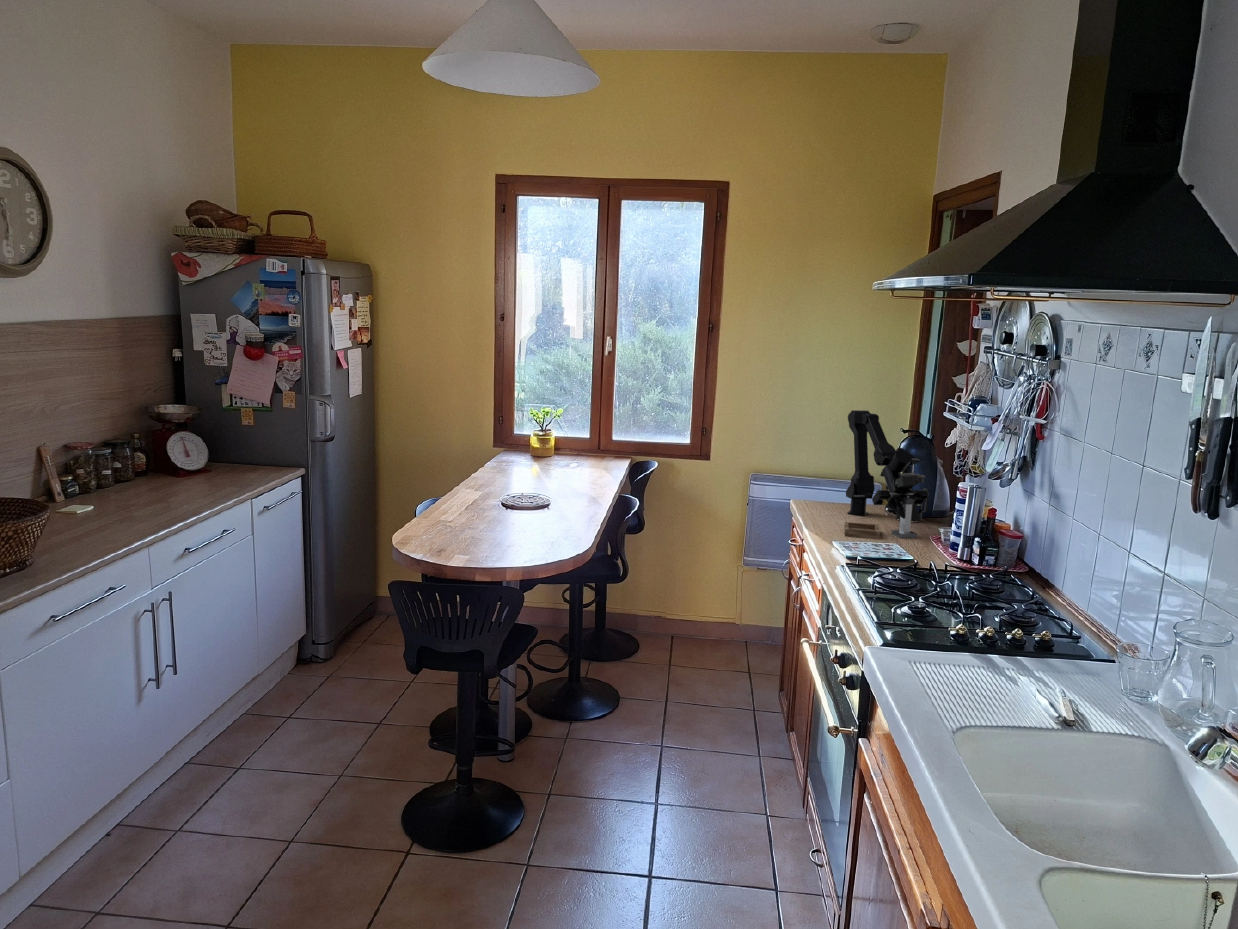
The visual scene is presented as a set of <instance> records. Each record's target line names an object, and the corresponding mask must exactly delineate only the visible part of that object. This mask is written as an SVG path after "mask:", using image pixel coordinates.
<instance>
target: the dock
mask: <svg viewBox="0 0 1238 929" xmlns="http://www.w3.org/2000/svg"><path fill="white" fill-rule="evenodd" d="M843 527H844V528H843V530H844V532H843V533H844V537H849V538H850V537H853V538H854V537H855V538H862V539H863V538H866V539H874V540H875V539H876V540H877V539H878V540H880V537H881V531H880V527H879V524H875V523H874V524H873V523H863V522H862V523H861V522H849V521H844V526H843Z"/></svg>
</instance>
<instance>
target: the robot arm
mask: <svg viewBox="0 0 1238 929" xmlns="http://www.w3.org/2000/svg"><path fill="white" fill-rule="evenodd" d="M847 422H848V427H849V429H850V430H851V432H852V434H853V447H854V448H853V450H854V452H853V454H854V473H853V475H852V476H851V478H850V484H849V486H848V487H847V489H846V490H845V497H846V498H848V499H850V506H849V507H850V510H849V511H846V512H847V513H848V514H849V515H854V514H855V516H861V515H865V516H866V515H868V514H869V511H867V499H869V500H870V499H871V502H872V503H873V505H874V506H882V505H883V503H884V501H883V500H885V501H886V502H887V503H886V507H888V508H890V509H891V510H892V511H894V512H895V514H896V515H897V514H898V515H900V516H901V517H902V518H903V519H904V518H905V513H904V510H903V508H902V505H901V498H911V499H913V500H914V505H921V504H925V500H926V499H927V498H928V499H929V496H930V493H929V494H928V491H927V490H915V492H914V493H911V494H909V493H908V491H910V490H911V487H913V486H915V487H916V486H917V485H919V484H920V483H919V479H918V477H917V475H912V476H910V477H902V475H901V474H902V473H904V472H905V470H906V469H907V468H908V466H909V465H910V463H911V462H912V461H911V460H912V458H913V457H912V455H911V454H910V453H909V452H908V451H907V450H905V449H904V448H903V447H897V448H895V447H894V446H893V445H892V444H890V443H889V442H888V440H887V437H886V435H885V432H884V430H883V427H882V425H881V423H880V416H879V415H878V414H877V413H871V412H870V410H866V409H865V410H853V409H852V410H851V411H850V412H849V413H848V415H847ZM868 435H869V437H870V440H871V442H872V446H873V448H874V451H873V460H874V462H875V465H876V466H879V467H880V466H882V467H883V468H882V470H881V473H880V475H879V476H880V477H883V478H884V480H885V483H886V486H885V489H877V491H876V492H875V490H876V489H875V488H876V486H875V476H874V475H871V473H870V472H869V454H868V452H869V448H868ZM874 492H875V493H874ZM867 513H868V514H867ZM912 515H913V504H912V514H911V518H912Z"/></svg>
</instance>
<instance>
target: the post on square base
mask: <svg viewBox="0 0 1238 929" xmlns="http://www.w3.org/2000/svg"><path fill="white" fill-rule="evenodd" d="M912 504H914V500H913V499H911V498H901V505H902V508H903V510H904V513H905V518H904V519H903V518H902V517H901V516H900V521H899V529H891V535H893V536H895V537H897V538H899V539H917V538H918V533H917V532H914V531H913V530H911V525H912V524H911V523H912V522H911V514H912Z"/></svg>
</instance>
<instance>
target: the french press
mask: <svg viewBox="0 0 1238 929" xmlns="http://www.w3.org/2000/svg"><path fill="white" fill-rule="evenodd" d="M919 461H921V460H920V459H919V458H913V457H912V460H911V462H912V470H911V471H912V472H901V475H902V477H910V476H912V475H917V477H918V479H919V484H922V483H924V482H925V478H926V475H924V474H921V475H920V474H919V473H915V472H914V470H915V464H916V462H919ZM921 488H922V490H927V491H928V494H929V495H930V493H929V492H930V490H929V489H928V488H923V487H921ZM914 492H915V490H912V487H911V490H910V491H908V494H911V493H914ZM928 503H929V497H928V498H927V499H926V502H924V503H923V504H924V510H923V504H921V505H914V504H913V515H912V518H911V521H922V522H923V519H922V518H923V514H926V513H927V512H928V506H929V504H928ZM918 507H919V513H917V510H918ZM897 519H899V520H900V515H898V514H897V513H896V516H895V520H897ZM899 520H898V521H899Z"/></svg>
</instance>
